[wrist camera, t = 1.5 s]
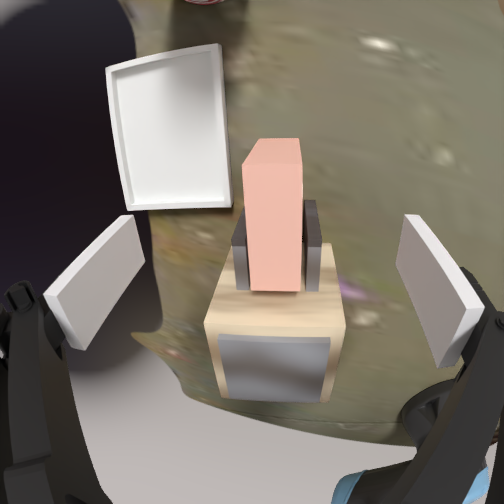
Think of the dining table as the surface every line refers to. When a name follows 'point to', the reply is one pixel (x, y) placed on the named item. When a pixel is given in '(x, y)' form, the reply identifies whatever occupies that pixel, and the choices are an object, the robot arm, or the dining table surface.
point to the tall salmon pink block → (274, 214)
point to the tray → (172, 129)
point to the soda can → (204, 2)
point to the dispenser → (277, 325)
